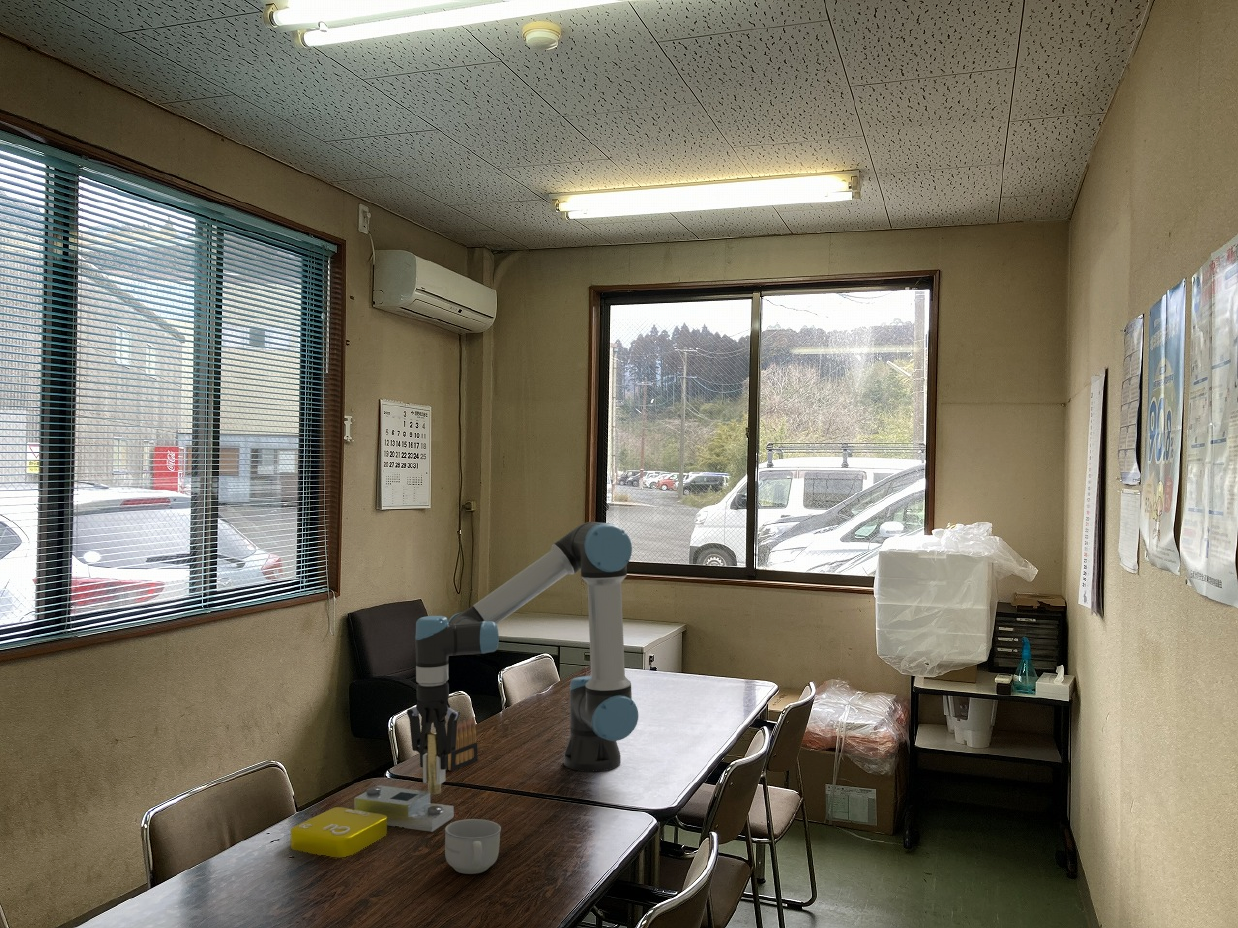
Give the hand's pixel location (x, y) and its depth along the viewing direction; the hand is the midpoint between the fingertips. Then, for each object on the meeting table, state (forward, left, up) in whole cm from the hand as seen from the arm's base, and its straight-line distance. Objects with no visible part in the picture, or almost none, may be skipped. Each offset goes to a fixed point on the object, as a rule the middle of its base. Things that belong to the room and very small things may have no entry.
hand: (434, 781), depth 216 cm
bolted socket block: (0, +12, -5) cm, 13 cm away
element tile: (+6, +27, -5) cm, 28 cm away
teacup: (-28, +31, -5) cm, 42 cm away
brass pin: (0, 0, -3) cm, 3 cm away
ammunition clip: (+7, -26, -5) cm, 27 cm away
